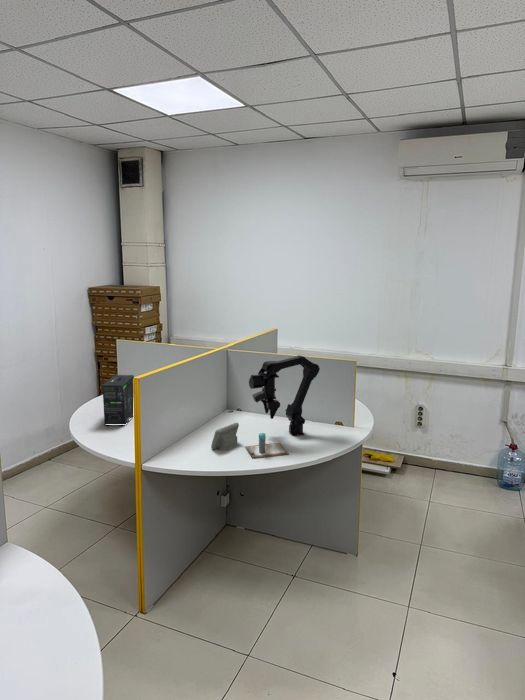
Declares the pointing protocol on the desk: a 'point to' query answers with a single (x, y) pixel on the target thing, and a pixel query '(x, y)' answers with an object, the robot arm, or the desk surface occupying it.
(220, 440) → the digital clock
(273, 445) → the clipboard
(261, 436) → the glue stick
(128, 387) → the headset box
